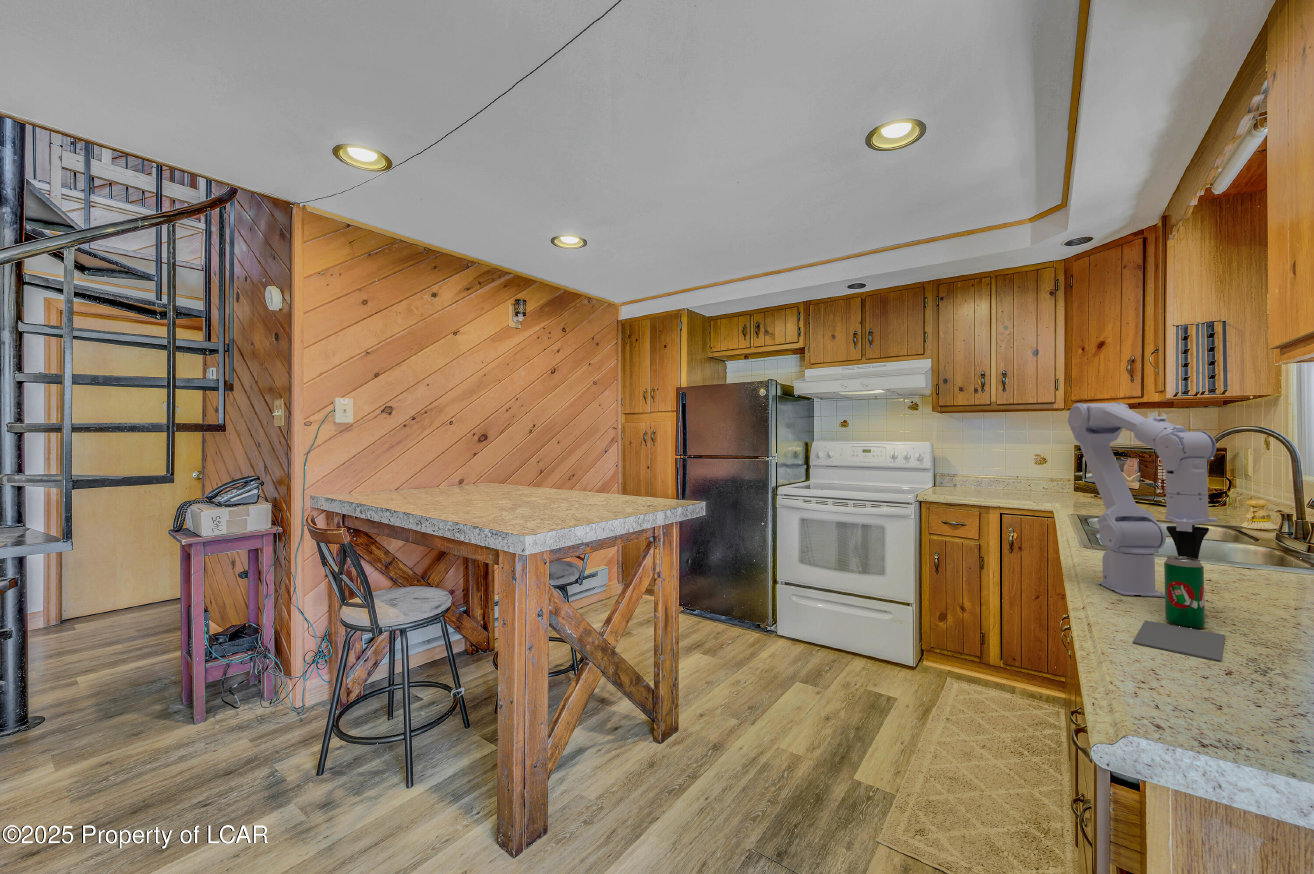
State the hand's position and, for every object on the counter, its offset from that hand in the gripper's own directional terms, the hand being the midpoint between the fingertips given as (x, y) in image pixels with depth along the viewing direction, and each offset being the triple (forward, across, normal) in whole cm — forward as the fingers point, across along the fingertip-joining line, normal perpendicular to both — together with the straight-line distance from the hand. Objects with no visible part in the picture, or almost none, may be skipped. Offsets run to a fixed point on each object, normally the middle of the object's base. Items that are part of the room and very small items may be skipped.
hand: (1188, 564), depth 101 cm
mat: (+9, -20, 0) cm, 22 cm away
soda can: (+10, -10, 0) cm, 14 cm away
